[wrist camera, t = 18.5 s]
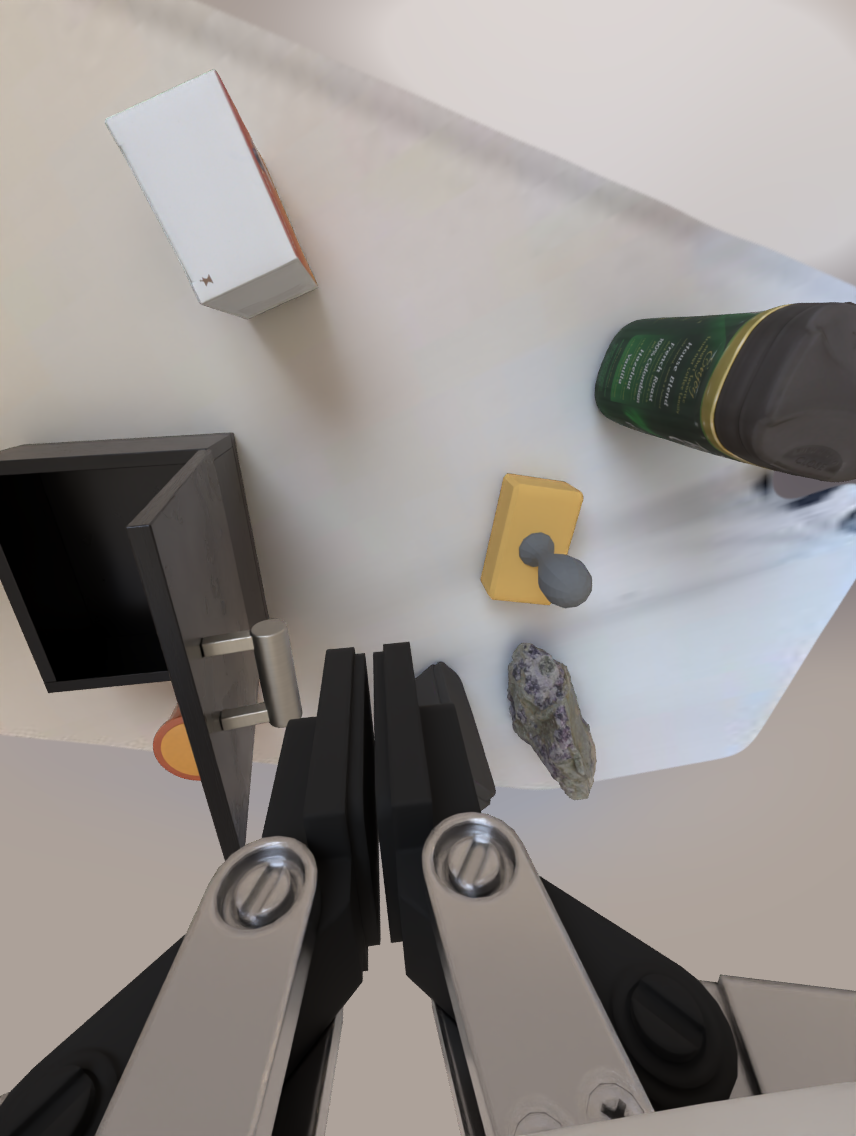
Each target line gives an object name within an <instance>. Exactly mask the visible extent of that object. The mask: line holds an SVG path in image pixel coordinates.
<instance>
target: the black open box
mask: <svg viewBox="0 0 856 1136" xmlns="http://www.w3.org/2000/svg"><path fill="white" fill-rule="evenodd" d="M208 449H211V450H212V453H213V458H214V463H215V467H216V472H217V477H218V482H219V486H220V491H221V496H222V501H223V505H224V510H225V515H226V519H227V524H228V529H229V534H230V538H231V543H232V548H233V552H234V557H235V562H236V567H237V571H238V576H239V581H240V585H241V590H242V595H243V600H244V604H245V609H246V614H247V618H248V623H249V628H250V629H251V627H252V626H253V625H255V624H256V623H258V622H261V621H264V620H268V619H269V616H268V611H267V606H266V601H265V595H264V590H263V585H262V580H261V575H260V569H259V564H258V559H257V554H256V549H255V543H254V538H253V533H252V528H251V523H250V517H249V512H248V507H247V502H246V497H245V491H244V486H243V481H242V476H241V471H240V465H239V460H238V455H237V450H236V445H235V439H234V434H233V433H217V434H200V435H182V436H165V437H148V438H130V439H113V440H95V441H78V442H61V443H43V444H26V445H20V446H17V447H12V448H9V449H5V450H1V451H0V580H1V582H2V585H3V587H4V589H5V592H6V594H7V596H8V599H9V601H10V603H11V606H12V608H13V611H14V613H15V615H16V618H17V620H18V622H19V625H20V627H21V629H22V632H23V634H24V637H25V639H26V641H27V644H28V646H29V648H30V651H31V653H32V655H33V658H34V660H35V663H36V665H37V667H38V670H39V672H40V674H41V677H42V679H43V681H44V684H45V686H46V689H47V691H48V693H53V692H63V691H73V690H83V689H93V688H103V687H113V686H123V685H133V684H143V683H152V682H162V681H171V679H170V675H169V672H168V669H167V665H166V662H165V659H164V655H163V652H162V649H161V645H160V642H159V638H158V635H157V632H156V628H155V625H154V622H153V618H152V615H151V612H150V608H149V605H148V602H147V598H146V595H145V592H144V588H143V585H142V582H141V578H140V575H139V572H138V568H137V565H136V562H135V558H134V555H133V552H132V548H131V545H130V541H129V538H128V535H127V531H126V527H127V526H128V525H129V523H130V522H131V521H132V520H133V519H134V518H135V517H136V516H137V515H138V514H139V513H140V512H141V511H142V510H143V509H144V508H145V506H146V505H147V504H148V503H149V502H150V501H151V500H152V499H153V498H154V497H155V496H156V495H157V494H158V493H159V492H160V491H161V490H162V488H163V487H164V486H165V485H166V484H167V483H168V482H169V481H170V480H171V479H172V478H173V477H174V476H175V475H176V474H177V473H178V472H179V470H180V469H181V468H182V467H183V466H184V465H185V464H186V463H187V462H188V461H189V460H190V459H191V458H192V457H193V456H194V455H195V453H196V452H197V451H198V450H208Z"/></svg>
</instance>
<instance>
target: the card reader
mask: <svg viewBox="0 0 856 1136" xmlns="http://www.w3.org/2000/svg"><path fill="white" fill-rule="evenodd" d="M415 684H416V691H417V698H418V705H419V706H423V705H432V704H442V703H451V702H453V703H454V705H455V708H456V712H457V716H458V720H459V724H460V728H461V733H462V737H463V741H464V745H465V749H466V753H467V757H468V761H469V765H470V769H471V773H472V777H473V781H474V785H475V789H476V793H477V797H478V801H479V805H480V810H481V811H482V810H483V809H484V808H486V807H487V806H488V805H490V799H491V798H492V797H493V796H494V795H495V793H496V790H495V785H494V782H493V779H492V775H491V772H490V769H489V765H488V762H487V759H486V756H485V752H484V749H483V746H482V743H481V739H480V736H479V733H478V730H477V726H476V723H475V720H474V717H473V714H472V711H471V708H470V705H469V702H468V699H467V696H466V693H465V690H464V687H463V684H462V682H461V680H460V678H459V676H458V675H457V674H456V673H455V672H454V671H453V670H452V669H451V668H449V667H448V666H447V665H446V664H445V663H443V662H439V663H438V664H436V665H431V666H430V667H429V668H428V669H427V670H425V671H424V672H423V673H422V674H421V675H420V676H418V677H417V678H416V679H415ZM378 838H379V833H378ZM379 843H380V842H379Z"/></svg>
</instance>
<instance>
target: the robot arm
mask: <svg viewBox="0 0 856 1136" xmlns="http://www.w3.org/2000/svg"><path fill="white" fill-rule="evenodd" d="M373 674H374V731H373V722H372V713H371V703H370V694H369V685H368V675H367V666H366V657H365V653H362V654H355V649H354V647H350V648H339V649H328V650H327V651H326V656H325V663H324V670H323V677H322V684H321V691H320V698H319V705H318V712H317V717H308V718H299V719H290V720H289V721H288V723H287V726H286V730H285V735H284V739H283V744H282V748H281V753H280V757H279V762H278V767H277V771H276V776H275V780H274V785H273V789H272V794H271V798H270V803H269V807H268V812H267V816H266V821H265V825H264V830H263V834H262V839H259V840H256V841H254V842H251V843H249V844H247V845H245V846H243V847H242V848H240V849H239V850H237V851H236V852H234V853H233V854H232V855H231V856H230V857H229V858H228V859H227V860H226V861H225V862H224V863H223V864H222V865H221V866H220V867H219V868H218V869H217V871H216V873H215V874H214V876H213V878H212V879H211V881H210V883H209V884H208V887H207V889H206V891H205V893H204V895H203V898H202V900H201V902H200V904H199V906H198V909H197V911H196V913H195V915H194V917H193V920H192V922H191V924H190V926H189V928H188V931H187V933H186V934H185V935H184V936H183V937H182V938H180V939H179V940H178V941H177V942H176V943H175V944H174V945H173V946H171V947H170V948H169V949H168V950H167V951H166V952H165V953H163V954H162V955H161V956H160V957H159V958H158V959H157V960H156V961H154V962H153V963H152V964H151V965H150V966H149V967H148V968H146V969H145V970H144V971H143V972H142V973H141V974H140V975H139V976H137V977H136V978H135V979H134V980H133V981H132V982H130V983H129V984H128V985H127V986H126V987H125V988H124V989H123V990H121V991H120V992H119V993H118V994H117V995H116V996H115V997H113V998H112V999H111V1000H110V1001H109V1002H108V1003H107V1004H105V1005H104V1006H103V1007H102V1008H101V1009H100V1010H99V1011H98V1012H96V1013H95V1014H94V1015H93V1016H92V1017H91V1018H90V1019H88V1020H87V1021H86V1022H85V1023H84V1024H83V1025H82V1026H80V1027H79V1028H78V1029H77V1030H76V1031H75V1032H74V1033H73V1034H71V1035H70V1036H69V1037H68V1038H67V1039H66V1040H65V1041H63V1042H62V1043H61V1044H60V1045H59V1046H58V1047H57V1048H56V1049H54V1050H53V1051H52V1052H51V1053H50V1054H49V1055H48V1056H46V1057H45V1058H44V1059H43V1060H42V1061H41V1062H40V1063H38V1064H37V1065H36V1066H35V1067H34V1068H33V1069H32V1070H31V1071H30V1072H29V1073H28V1074H27V1075H26V1076H25V1077H24V1078H23V1079H22V1080H21V1081H20V1082H19V1083H18V1084H17V1086H15V1088H13V1090H12V1091H11V1092H9V1093H6V1094H4V1095H1V1096H0V1136H325V1130H326V1124H327V1117H328V1112H329V1105H330V1098H331V1092H332V1086H333V1080H334V1073H335V1068H336V1061H337V1055H338V1049H339V1043H340V1036H341V1029H342V1024H343V1006H344V1005H345V1003H346V1002H347V1001H348V1000H349V998H350V997H351V996H352V994H353V993H354V992H355V991H356V989H357V988H358V987H359V985H360V984H361V983H362V979H363V976H362V975H363V971H368V946H374V945H380V889H379V888H380V887H379V842H380V851H381V859H382V868H383V877H384V885H385V894H386V902H387V912H388V920H389V930H390V938H391V943H394V942H401V941H403V949H404V960H405V969H406V975H407V976H408V977H409V978H410V979H411V980H412V981H413V982H414V983H415V984H416V985H417V986H419V988H421V989H422V990H423V991H424V992H425V993H426V994H427V995H428V996H429V997H430V998H431V1000H432V1009H433V1014H434V1018H435V1023H436V1027H437V1032H438V1036H439V1040H440V1045H441V1049H442V1053H443V1058H444V1062H445V1067H446V1071H447V1076H448V1080H449V1084H450V1088H451V1093H452V1098H453V1102H454V1107H455V1111H456V1115H457V1120H458V1124H459V1129H460V1133H461V1136H856V991H852V990H843V989H835V988H826V987H818V986H810V985H802V984H794V983H785V982H776V981H769V980H760V979H752V978H744V977H736V976H727V975H720V977H719V980H718V983H717V982H709V981H701V980H697V979H696V978H695V977H694V976H692V975H691V974H690V973H689V972H687V971H686V970H685V969H684V968H682V967H681V966H680V965H678V964H677V963H675V962H673V961H672V960H670V959H669V958H667V957H665V956H664V955H662V954H661V953H659V952H658V951H656V950H654V949H653V948H651V947H650V946H648V945H647V944H645V943H644V942H642V941H641V940H639V939H637V938H636V937H634V936H633V935H631V934H630V933H628V932H626V931H625V930H623V929H622V928H620V927H619V926H617V925H616V924H614V923H612V922H611V921H609V920H608V919H606V918H605V917H603V916H601V915H600V914H598V913H597V912H595V911H594V910H592V909H590V908H589V907H587V906H586V905H584V904H582V903H581V902H580V901H578V900H576V899H575V898H573V897H572V896H570V895H569V894H567V893H565V892H564V891H562V890H561V889H559V888H557V887H556V886H554V885H553V884H551V883H550V882H548V881H547V880H545V879H543V878H542V877H540V876H539V875H538V873H537V871H536V869H535V867H534V865H533V863H532V861H531V859H530V857H529V855H528V853H527V850H526V848H525V846H524V845H523V843H522V841H521V840H520V839H519V837H518V835H517V834H516V833H515V831H514V830H513V829H512V828H511V827H509V826H508V825H507V824H506V823H505V822H503V821H502V820H500V819H497V818H495V817H493V816H491V815H489V814H483V813H481V810H480V805H479V801H478V797H477V793H476V789H475V785H474V781H473V777H472V773H471V769H470V765H469V761H468V757H467V753H466V749H465V745H464V741H463V737H462V733H461V728H460V724H459V720H458V716H457V712H456V708H455V705H454V703H453V702H451V703H442V704H432V705H423V706H419V705H418V698H417V691H416V684H415V677H414V670H413V663H412V656H411V649H410V643H409V642H403V643H392V644H383V652H373ZM374 738H375V741H374ZM378 833H379V838H378Z"/></svg>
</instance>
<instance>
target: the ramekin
mask: <svg viewBox="0 0 856 1136" xmlns="http://www.w3.org/2000/svg"><path fill="white" fill-rule="evenodd" d="M153 751H154V754H155V757H156V759H157V760H158V762H159V763H160V764H161V766H163V767H164V768H165V769H166V770H168V771H169V772H170V773H172V774H174V775H176V776H178V777H181V778H184V779H189V780H199V781H201V779H200V776H199V772H198V769H197V766H196V762H195V759H194V756H193V752H192V749H191V746H190V742H189V739H188V735H187V732H186V729H185V725H184V722H183V719H182V715H181V712H180V709H179V705H178V703H177V704H176V706H175V708H174V710H173V712H172V714H171V716H170V718H169V719H168V721H167V722H165V723H164V724H163V725H162V726H161V727H160V728H159V730H158V731H157V733H156V735H155V737H154V741H153Z"/></svg>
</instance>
